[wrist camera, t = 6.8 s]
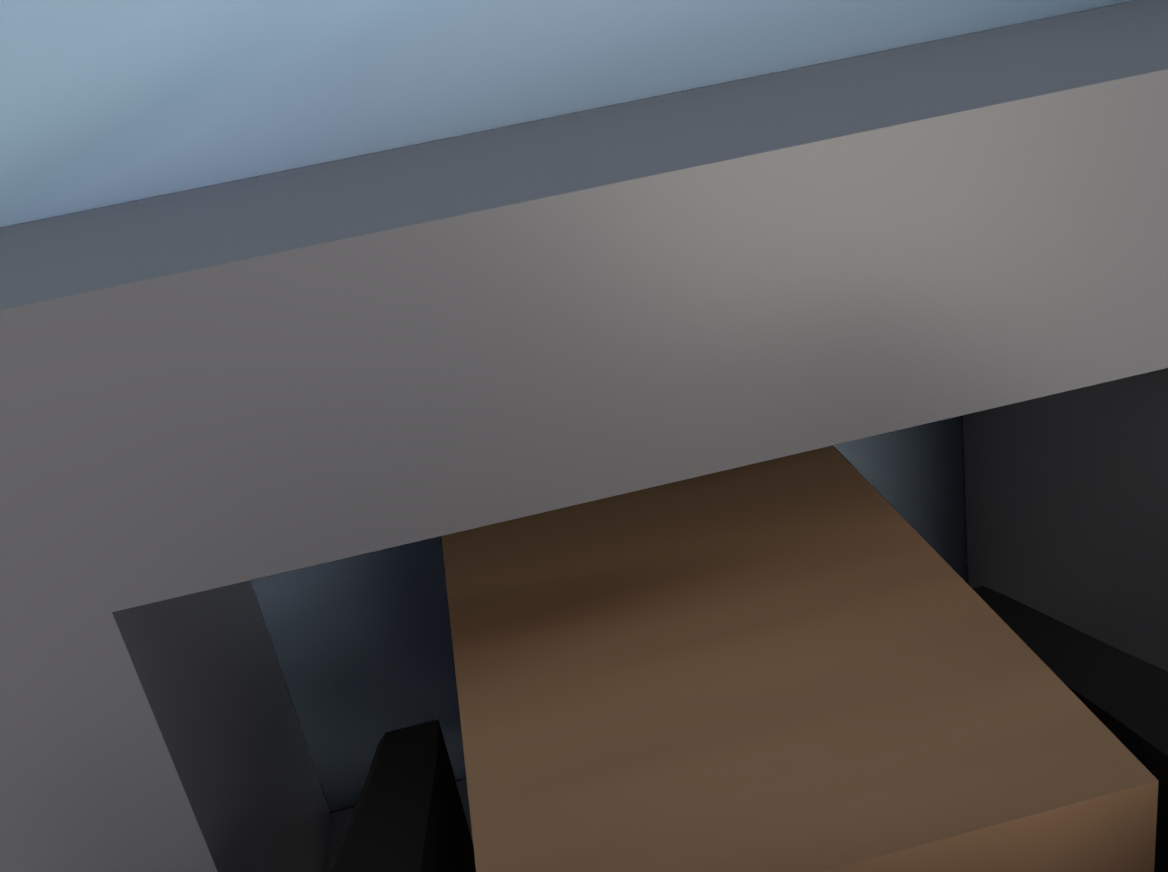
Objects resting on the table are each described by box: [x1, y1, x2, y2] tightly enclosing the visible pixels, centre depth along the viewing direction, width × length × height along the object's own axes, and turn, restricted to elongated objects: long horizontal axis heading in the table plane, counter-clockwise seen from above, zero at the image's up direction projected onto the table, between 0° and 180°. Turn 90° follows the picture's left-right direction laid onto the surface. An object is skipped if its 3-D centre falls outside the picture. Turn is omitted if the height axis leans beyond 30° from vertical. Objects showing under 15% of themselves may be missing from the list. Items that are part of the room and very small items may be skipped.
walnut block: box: [441, 445, 1159, 872], centre depth 13 cm, size 5×5×9 cm
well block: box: [0, 0, 1168, 872], centre depth 15 cm, size 13×20×5 cm, turn 100°
